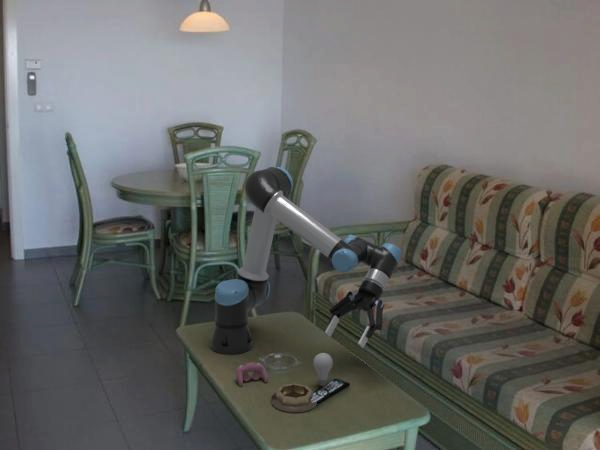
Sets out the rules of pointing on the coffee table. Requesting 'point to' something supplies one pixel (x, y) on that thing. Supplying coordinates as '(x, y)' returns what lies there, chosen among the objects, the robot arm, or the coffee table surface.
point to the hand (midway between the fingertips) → (343, 340)
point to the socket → (293, 398)
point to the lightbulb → (322, 367)
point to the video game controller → (251, 367)
